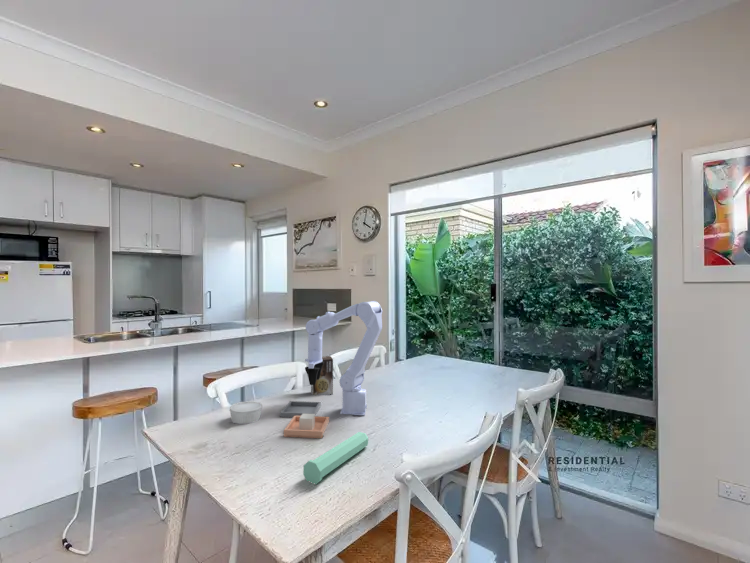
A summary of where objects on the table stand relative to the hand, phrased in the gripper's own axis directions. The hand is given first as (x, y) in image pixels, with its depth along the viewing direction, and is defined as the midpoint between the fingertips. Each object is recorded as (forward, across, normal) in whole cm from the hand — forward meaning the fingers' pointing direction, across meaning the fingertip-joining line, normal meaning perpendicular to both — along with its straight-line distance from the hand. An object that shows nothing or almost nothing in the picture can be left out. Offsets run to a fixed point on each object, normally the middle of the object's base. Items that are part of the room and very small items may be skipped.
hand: (314, 382), depth 148 cm
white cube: (+9, +24, +3) cm, 26 cm away
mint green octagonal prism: (+10, +45, +18) cm, 49 cm away
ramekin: (+10, +18, -21) cm, 29 cm away
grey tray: (+9, +9, -3) cm, 13 cm away
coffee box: (+10, -15, 0) cm, 18 cm away
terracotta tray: (+9, +24, +3) cm, 26 cm away
